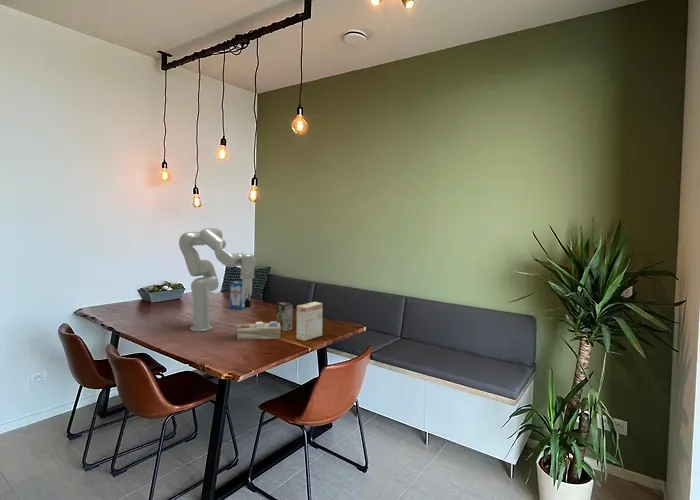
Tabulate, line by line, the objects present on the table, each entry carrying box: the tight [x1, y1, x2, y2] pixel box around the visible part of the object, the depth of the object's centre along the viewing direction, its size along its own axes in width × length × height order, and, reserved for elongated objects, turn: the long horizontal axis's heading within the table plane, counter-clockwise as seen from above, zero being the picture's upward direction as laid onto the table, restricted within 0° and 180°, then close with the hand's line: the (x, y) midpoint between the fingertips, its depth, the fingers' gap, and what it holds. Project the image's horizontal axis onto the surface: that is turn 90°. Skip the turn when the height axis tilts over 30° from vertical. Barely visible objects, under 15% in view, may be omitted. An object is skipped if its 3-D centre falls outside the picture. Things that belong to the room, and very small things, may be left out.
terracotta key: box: [241, 323, 250, 328], centre depth 233 cm, size 4×4×4 cm
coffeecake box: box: [296, 301, 324, 342], centre depth 235 cm, size 15×7×20 cm, turn 141°
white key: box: [255, 321, 264, 327], centre depth 235 cm, size 4×4×4 cm
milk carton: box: [229, 281, 245, 311], centre depth 303 cm, size 10×6×20 cm, turn 73°
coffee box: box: [276, 301, 293, 332], centre depth 251 cm, size 9×6×16 cm
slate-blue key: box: [269, 320, 277, 327], centre depth 236 cm, size 4×4×4 cm
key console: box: [236, 322, 282, 341], centre depth 235 cm, size 12×24×6 cm, turn 102°
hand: (247, 307), depth 232 cm, fingers closed
